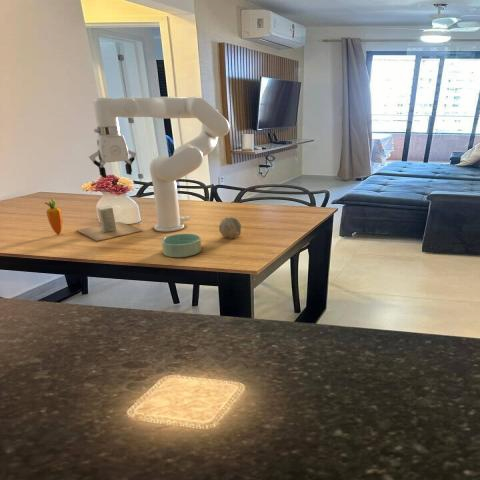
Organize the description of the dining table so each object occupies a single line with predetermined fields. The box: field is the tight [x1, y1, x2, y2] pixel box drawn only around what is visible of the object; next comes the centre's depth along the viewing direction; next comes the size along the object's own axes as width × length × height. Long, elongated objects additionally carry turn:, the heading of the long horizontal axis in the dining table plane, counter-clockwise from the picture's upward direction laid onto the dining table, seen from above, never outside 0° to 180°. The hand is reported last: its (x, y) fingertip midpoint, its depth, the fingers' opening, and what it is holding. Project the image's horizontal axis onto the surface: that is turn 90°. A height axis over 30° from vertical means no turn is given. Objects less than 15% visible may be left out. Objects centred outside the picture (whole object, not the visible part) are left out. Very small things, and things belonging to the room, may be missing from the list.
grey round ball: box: [218, 216, 243, 240], centre depth 159 cm, size 9×8×10 cm
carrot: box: [44, 198, 63, 236], centre depth 156 cm, size 5×5×15 cm
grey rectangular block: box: [97, 205, 117, 232], centre depth 163 cm, size 5×4×10 cm
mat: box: [76, 221, 142, 242], centre depth 164 cm, size 18×20×1 cm
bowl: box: [161, 233, 202, 258], centre depth 142 cm, size 14×14×5 cm
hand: (116, 175), depth 153 cm, fingers open, 9 cm apart
